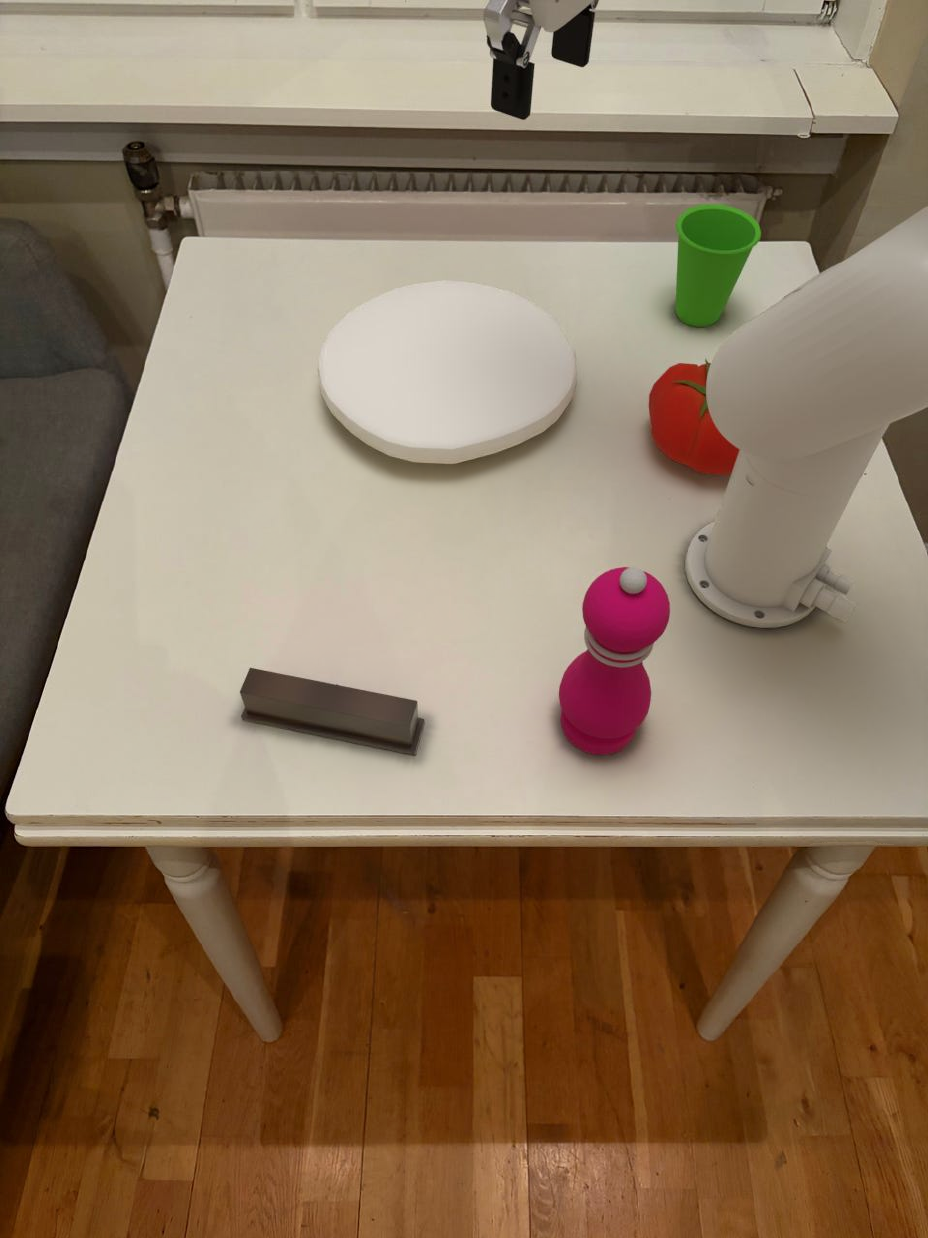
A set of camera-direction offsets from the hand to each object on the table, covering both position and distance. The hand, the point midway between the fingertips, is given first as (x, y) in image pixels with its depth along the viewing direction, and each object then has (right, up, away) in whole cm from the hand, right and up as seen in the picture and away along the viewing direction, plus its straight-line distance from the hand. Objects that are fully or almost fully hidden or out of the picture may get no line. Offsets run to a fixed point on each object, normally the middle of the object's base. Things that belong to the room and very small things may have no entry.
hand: (540, 86), depth 75 cm
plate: (-8, -17, +27) cm, 33 cm away
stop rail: (-17, -51, +3) cm, 53 cm away
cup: (+21, -7, +35) cm, 42 cm away
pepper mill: (+5, -51, +4) cm, 51 cm away
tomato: (+18, -24, +23) cm, 38 cm away
